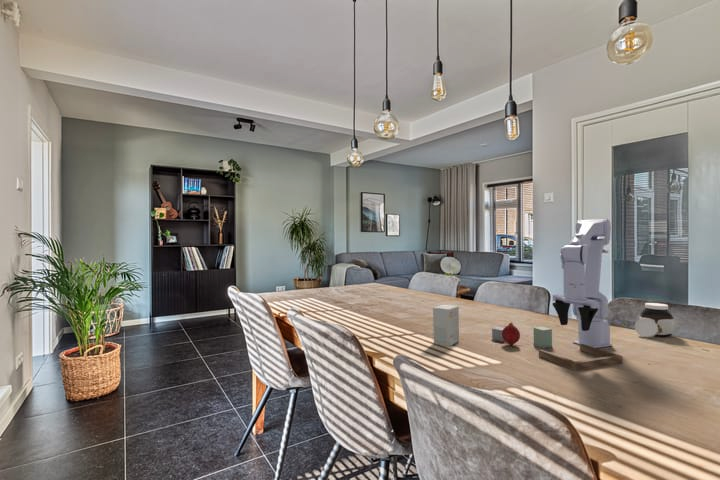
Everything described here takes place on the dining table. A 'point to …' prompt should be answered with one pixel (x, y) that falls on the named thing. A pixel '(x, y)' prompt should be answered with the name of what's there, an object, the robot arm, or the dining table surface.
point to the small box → (446, 324)
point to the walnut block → (604, 359)
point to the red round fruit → (511, 334)
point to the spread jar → (655, 321)
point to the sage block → (543, 337)
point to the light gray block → (497, 333)
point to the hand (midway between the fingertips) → (574, 327)
